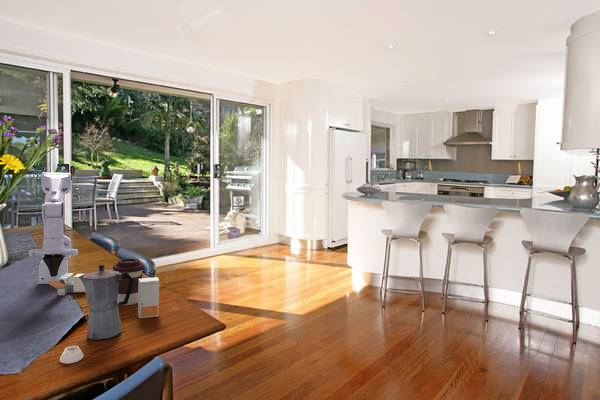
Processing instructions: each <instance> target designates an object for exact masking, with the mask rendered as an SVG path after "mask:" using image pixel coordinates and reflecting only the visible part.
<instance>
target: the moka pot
mask: <svg viewBox="0 0 600 400" xmlns="http://www.w3.org/2000/svg"><path fill="white" fill-rule="evenodd" d="M82 274H83V275H81V276H79V277H78V278H80V279H81V281H82V283H83V284H84V287H85V292H86V293H85V297H86V302H87V304H88V309H89V312H88V322H87V336H86V337H87V338H88V339H90V340H95V341H96V340H107V339H110V338H114V337H116V336H117V335H119V334H121V333H122V323H121V319H120V317H121V316H120V313H119V306H126V305H125V304H127V303H128V299H129V296H130V293H131V290H132V287H133V284H134V280H133V278H132V277H131V276H130V275H129V274H128V272H124V273H119V272H117V271H113V270H109V269H108V270H105V265H104V264H100V265H98V271H93V272H88V273H82ZM123 279H128V280H129V284H128V288H127V291H126V297H125V299H124V301H123V302H119V304H118V303H117V297H118V284H119V280H123Z"/></svg>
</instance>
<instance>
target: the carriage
mask: <svg viewBox="0 0 600 400" xmlns="http://www.w3.org/2000/svg"><path fill="white" fill-rule="evenodd" d="M83 274H84V273H76V275H75V274H74V292H85V287H84V284H83V283H82V281H81V279H80V278H78V277H79V276H81V275H83Z"/></svg>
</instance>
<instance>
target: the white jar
mask: <svg viewBox="0 0 600 400" xmlns="http://www.w3.org/2000/svg"><path fill="white" fill-rule="evenodd" d="M83 358H84V353H83V351H82V349H81V348H80V346H78V345H70V346H67V347H65V348H64V351H63V352H62V354H61V356H60V358H59V362H60V363H62V364H69V365H70V364H73V363H77V362H79V361H81V360H82V359H83Z"/></svg>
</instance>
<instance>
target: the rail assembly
mask: <svg viewBox="0 0 600 400" xmlns="http://www.w3.org/2000/svg"><path fill="white" fill-rule="evenodd" d="M74 276H75V274H74V272H70V273H69V272H68V273H66V274H65V275H63V276H62V277H60V278H59V279H58V281H59V282H60V283H62V284H64V285H66V288H65V289H57V295H58V294H66V293H68V292H69V293H68V294H71V293H72V294H74V293H75V294H76V293H77V294H80V293H81V294H82V293H85V294H86V292H74ZM66 295H67V294H66Z"/></svg>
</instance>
